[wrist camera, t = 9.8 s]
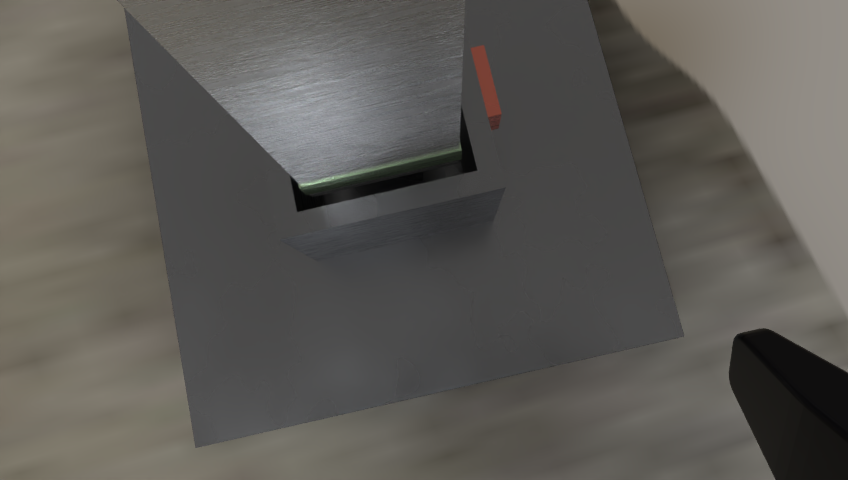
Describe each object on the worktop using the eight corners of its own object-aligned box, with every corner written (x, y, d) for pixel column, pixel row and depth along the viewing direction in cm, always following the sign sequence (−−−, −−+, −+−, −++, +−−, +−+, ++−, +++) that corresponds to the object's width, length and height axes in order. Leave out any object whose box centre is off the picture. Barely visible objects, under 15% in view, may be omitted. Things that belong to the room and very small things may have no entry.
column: (460, 164, 17) (475, -122, 6) (310, 199, 17) (78, -29, 6) (426, 23, 18) (389, -447, 7) (281, 57, 18) (28, -360, 7)
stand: (671, 336, 22) (754, 335, 16) (209, 441, 22) (118, 480, 16) (551, -84, 24) (584, -222, 18) (138, 13, 24) (36, -92, 18)
